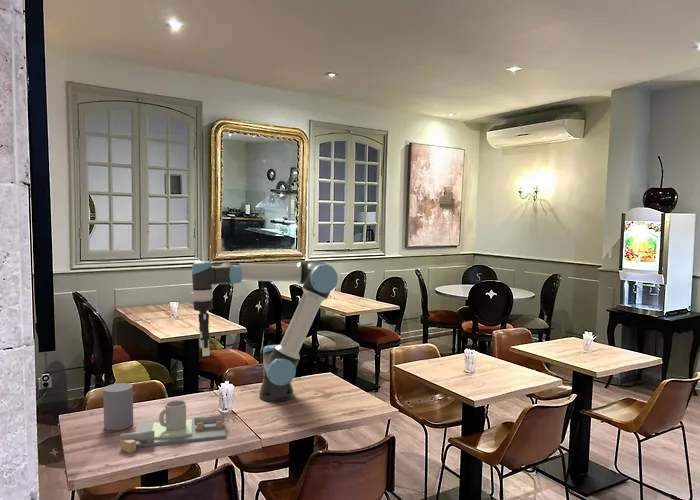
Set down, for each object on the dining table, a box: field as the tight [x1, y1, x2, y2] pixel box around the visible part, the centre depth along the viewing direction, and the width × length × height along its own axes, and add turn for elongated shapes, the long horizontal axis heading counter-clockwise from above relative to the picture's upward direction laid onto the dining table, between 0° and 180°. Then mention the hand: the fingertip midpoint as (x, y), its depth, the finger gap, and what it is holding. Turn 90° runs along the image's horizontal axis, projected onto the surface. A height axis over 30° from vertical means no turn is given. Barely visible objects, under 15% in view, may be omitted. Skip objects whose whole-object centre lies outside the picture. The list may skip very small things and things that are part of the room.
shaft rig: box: [119, 414, 227, 454], centre depth 197 cm, size 36×24×5 cm
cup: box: [158, 399, 187, 431], centre depth 198 cm, size 7×10×9 cm
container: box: [102, 382, 134, 432], centre depth 204 cm, size 10×10×15 cm
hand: (204, 351), depth 217 cm, fingers open, 13 cm apart
